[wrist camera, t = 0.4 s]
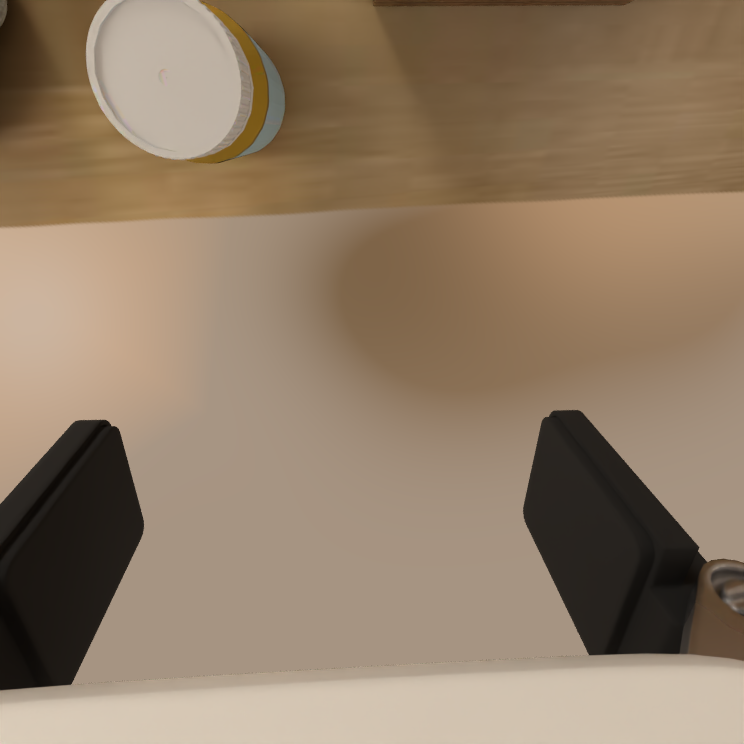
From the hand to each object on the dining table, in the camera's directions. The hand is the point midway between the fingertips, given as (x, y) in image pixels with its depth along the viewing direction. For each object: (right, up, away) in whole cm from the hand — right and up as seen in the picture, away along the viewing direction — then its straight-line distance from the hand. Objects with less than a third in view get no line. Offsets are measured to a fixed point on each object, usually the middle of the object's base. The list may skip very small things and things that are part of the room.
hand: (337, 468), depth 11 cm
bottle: (-9, +21, +22) cm, 32 cm away
